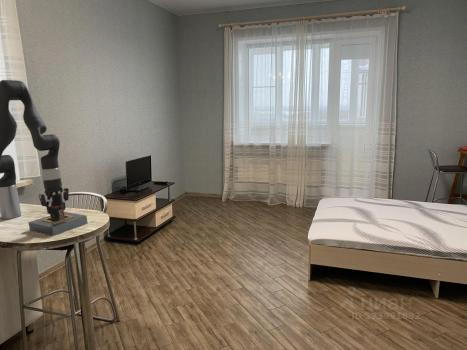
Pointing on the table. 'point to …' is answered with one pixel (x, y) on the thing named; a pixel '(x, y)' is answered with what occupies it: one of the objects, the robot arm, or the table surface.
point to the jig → (57, 224)
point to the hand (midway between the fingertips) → (56, 211)
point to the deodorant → (57, 207)
